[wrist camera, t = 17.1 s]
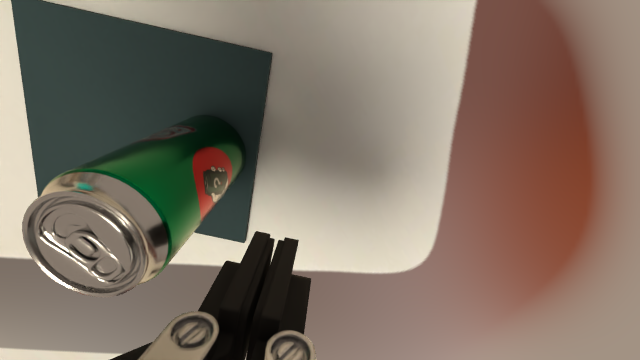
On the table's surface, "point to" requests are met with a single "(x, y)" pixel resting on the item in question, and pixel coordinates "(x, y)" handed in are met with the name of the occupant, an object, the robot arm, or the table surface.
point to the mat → (133, 93)
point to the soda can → (132, 206)
